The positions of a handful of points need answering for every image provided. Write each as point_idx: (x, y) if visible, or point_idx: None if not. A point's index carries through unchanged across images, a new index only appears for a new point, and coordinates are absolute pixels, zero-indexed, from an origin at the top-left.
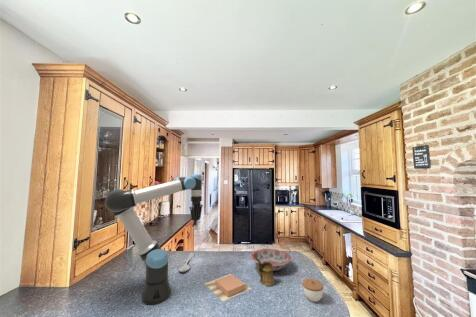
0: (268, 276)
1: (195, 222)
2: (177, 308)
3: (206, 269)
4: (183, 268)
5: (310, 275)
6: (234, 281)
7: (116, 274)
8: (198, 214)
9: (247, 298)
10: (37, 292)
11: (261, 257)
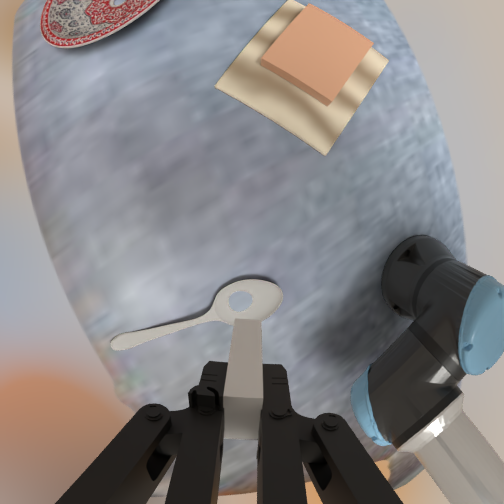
0: None
1: (286, 391)
2: (444, 180)
3: (204, 210)
4: (233, 310)
5: None
6: (309, 34)
7: None
8: (199, 481)
9: (337, 6)
10: (403, 469)
11: (77, 33)
